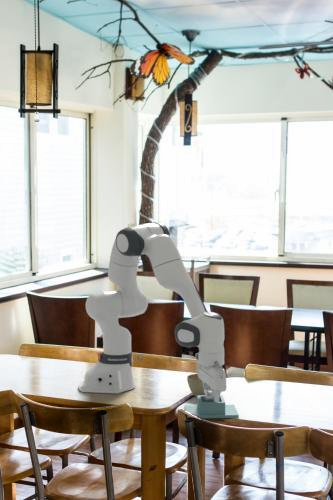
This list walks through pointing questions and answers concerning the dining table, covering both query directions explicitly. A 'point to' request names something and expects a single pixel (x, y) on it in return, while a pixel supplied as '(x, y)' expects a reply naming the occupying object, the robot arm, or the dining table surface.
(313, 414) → the dining table surface
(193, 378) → the flower pot
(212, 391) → the gray rectangular block
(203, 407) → the well
